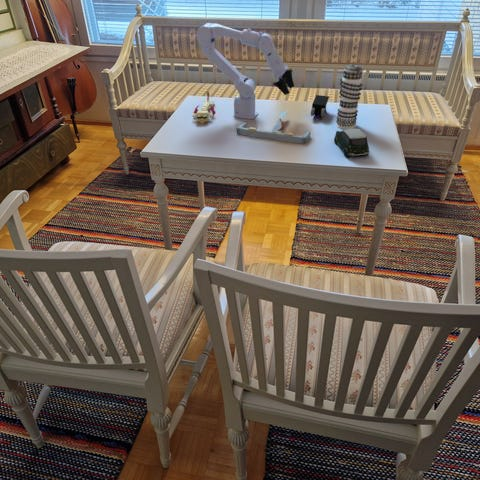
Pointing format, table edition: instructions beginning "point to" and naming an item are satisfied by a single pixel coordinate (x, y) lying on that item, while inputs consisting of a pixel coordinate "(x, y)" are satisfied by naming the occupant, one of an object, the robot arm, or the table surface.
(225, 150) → the table surface
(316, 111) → the figurine character
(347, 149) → the miniature car
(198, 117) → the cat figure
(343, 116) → the model tower building
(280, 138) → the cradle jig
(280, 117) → the propeller
